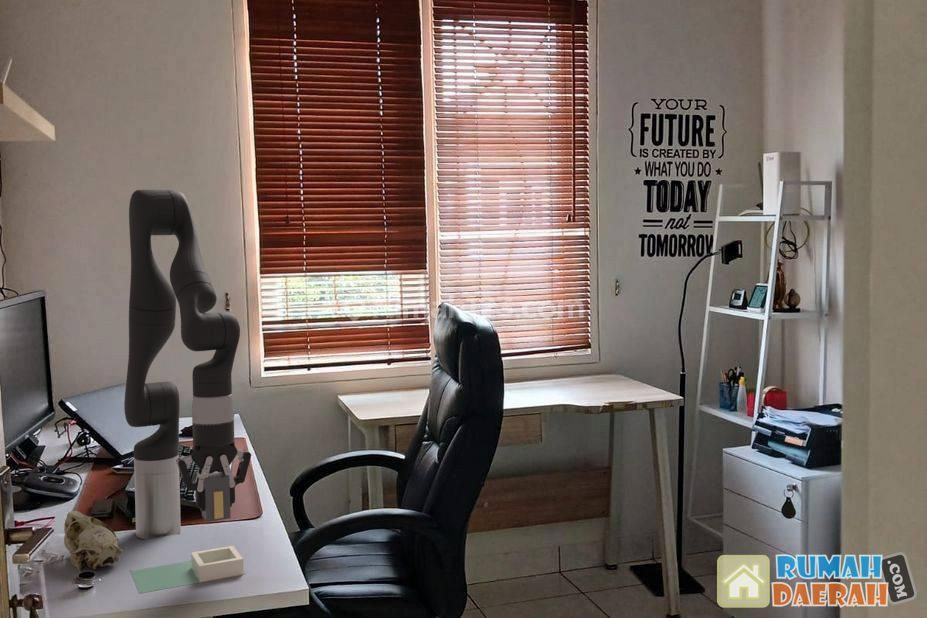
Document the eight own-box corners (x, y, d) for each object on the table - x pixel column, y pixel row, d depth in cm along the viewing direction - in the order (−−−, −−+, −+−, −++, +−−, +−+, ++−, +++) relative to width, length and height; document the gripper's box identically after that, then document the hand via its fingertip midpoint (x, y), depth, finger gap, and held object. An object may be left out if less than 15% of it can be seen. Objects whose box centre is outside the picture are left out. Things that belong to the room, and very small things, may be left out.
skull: (90, 539, 176) (94, 497, 173) (130, 579, 166) (134, 535, 163) (43, 554, 168) (46, 510, 165) (81, 596, 159) (85, 550, 156)
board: (130, 576, 161) (130, 570, 161) (231, 558, 170) (231, 553, 170) (139, 598, 151) (139, 593, 150) (246, 578, 160) (246, 573, 159)
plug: (201, 515, 161) (200, 474, 160) (225, 512, 163) (224, 471, 162) (207, 522, 156) (206, 480, 156) (231, 519, 158) (230, 477, 158)
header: (191, 567, 162) (191, 552, 162) (233, 560, 166) (233, 545, 166) (199, 582, 155) (199, 566, 155) (243, 574, 159) (243, 558, 159)
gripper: (246, 411, 165) (248, 497, 166) (170, 419, 159) (172, 508, 160) (256, 418, 159) (258, 507, 160) (177, 426, 152) (179, 519, 153)
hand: (215, 507), depth 160 cm, fingers closed on plug, 4 cm apart
